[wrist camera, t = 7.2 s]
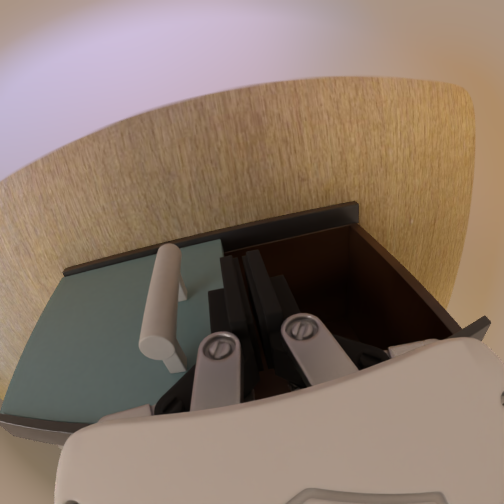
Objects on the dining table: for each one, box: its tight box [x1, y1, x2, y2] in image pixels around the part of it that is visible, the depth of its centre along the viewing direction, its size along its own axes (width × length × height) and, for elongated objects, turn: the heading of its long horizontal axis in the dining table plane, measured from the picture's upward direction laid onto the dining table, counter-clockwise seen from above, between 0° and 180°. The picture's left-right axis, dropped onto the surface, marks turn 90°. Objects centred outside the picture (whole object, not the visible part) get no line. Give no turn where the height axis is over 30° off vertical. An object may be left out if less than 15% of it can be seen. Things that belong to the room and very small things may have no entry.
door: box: [0, 239, 224, 424], centre depth 14 cm, size 4×15×14 cm, turn 100°
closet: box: [0, 201, 491, 446], centre depth 18 cm, size 13×26×16 cm, turn 100°
